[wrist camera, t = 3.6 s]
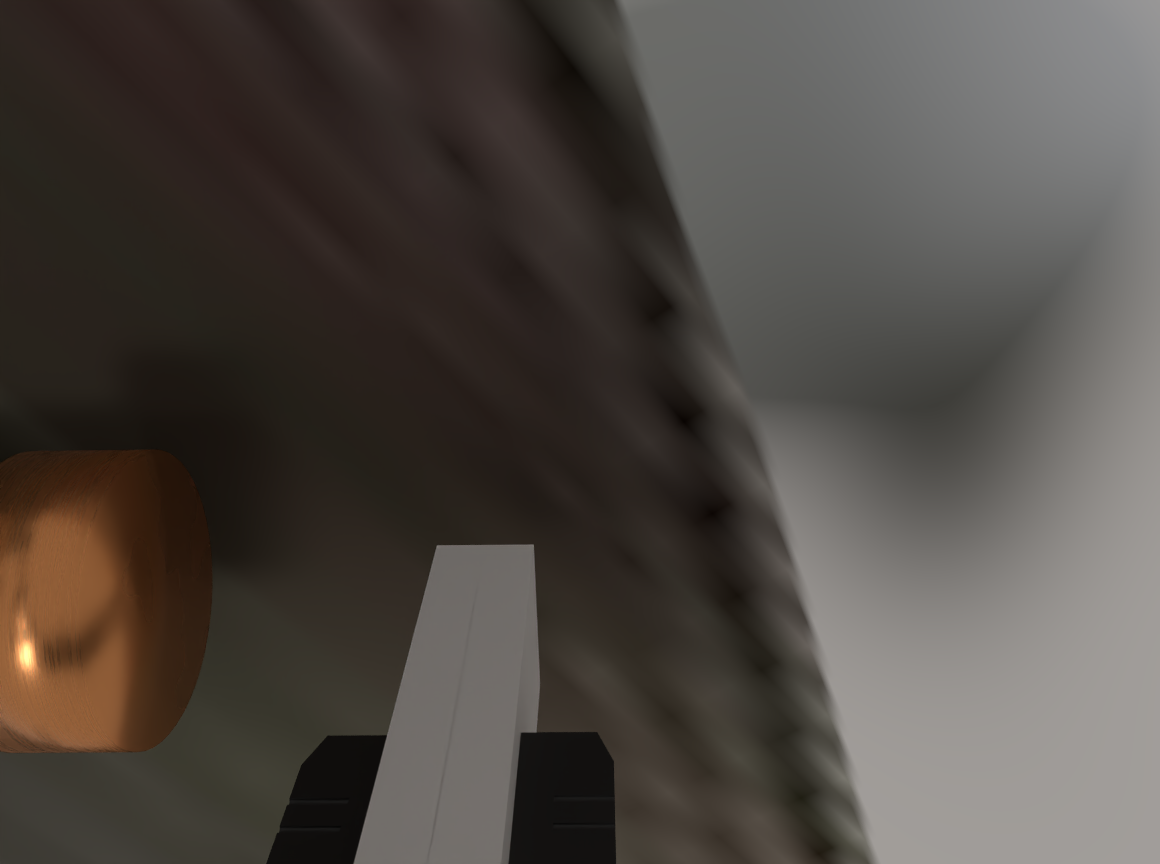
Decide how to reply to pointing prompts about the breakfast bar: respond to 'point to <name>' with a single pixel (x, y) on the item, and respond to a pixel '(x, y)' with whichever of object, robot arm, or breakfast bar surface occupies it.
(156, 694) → the pin
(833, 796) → the breakfast bar surface
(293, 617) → the breakfast bar surface
